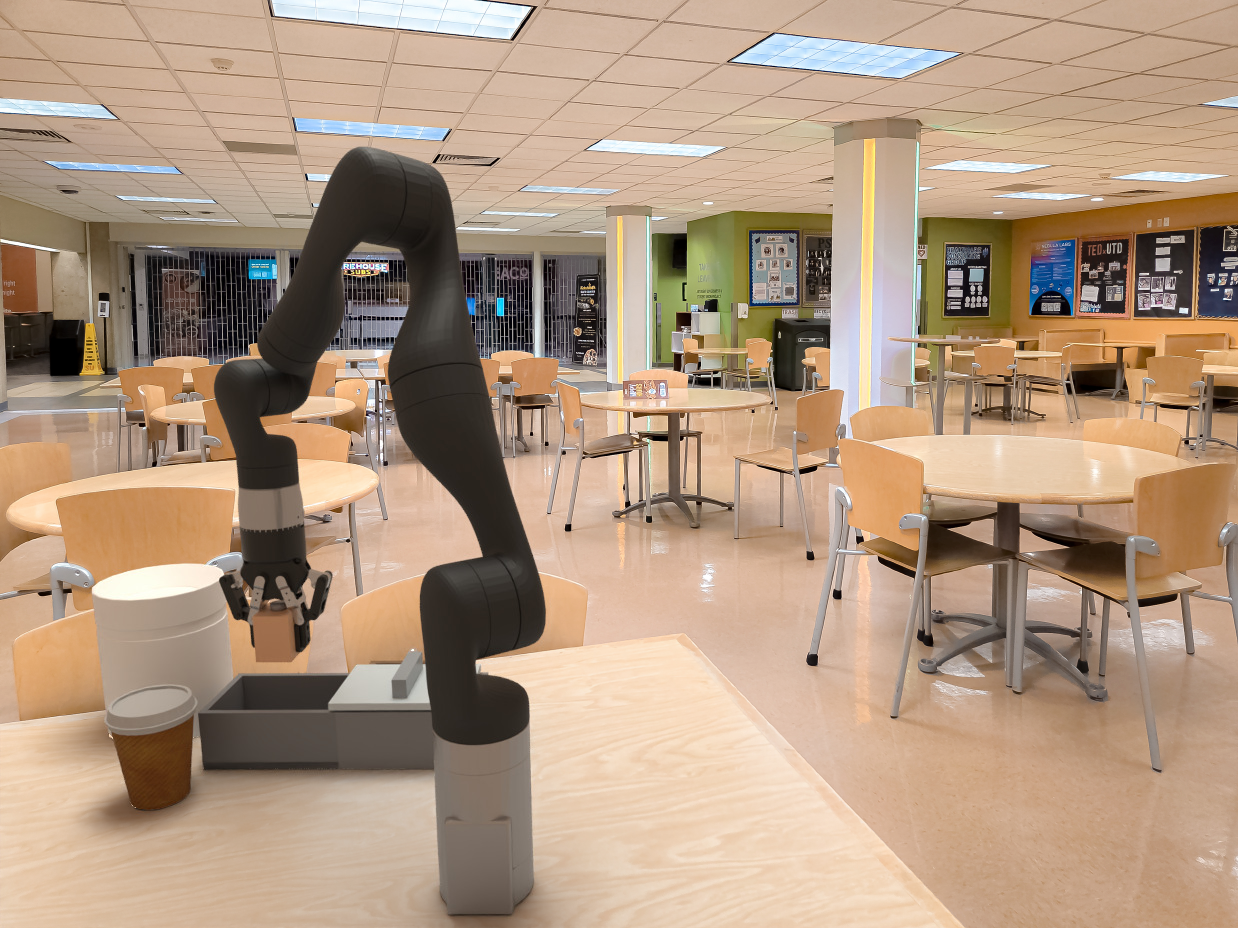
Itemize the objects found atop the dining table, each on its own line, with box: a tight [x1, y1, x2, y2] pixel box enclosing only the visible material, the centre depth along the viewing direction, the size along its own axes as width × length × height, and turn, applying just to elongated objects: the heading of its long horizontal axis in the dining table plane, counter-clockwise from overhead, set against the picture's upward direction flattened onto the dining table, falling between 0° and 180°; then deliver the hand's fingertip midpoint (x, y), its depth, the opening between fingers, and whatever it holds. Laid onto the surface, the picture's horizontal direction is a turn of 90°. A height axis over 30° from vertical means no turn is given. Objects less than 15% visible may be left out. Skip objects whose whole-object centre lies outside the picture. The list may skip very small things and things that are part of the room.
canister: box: [91, 563, 234, 738], centre depth 121 cm, size 16×16×20 cm
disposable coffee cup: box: [103, 684, 198, 811], centre depth 102 cm, size 10×10×12 cm
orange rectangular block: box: [252, 599, 301, 663], centre depth 112 cm, size 6×4×7 cm
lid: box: [328, 651, 482, 710], centre depth 113 cm, size 12×17×3 cm
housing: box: [198, 671, 490, 771], centre depth 114 cm, size 12×35×8 cm, turn 90°
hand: (281, 649), depth 113 cm, fingers closed on orange rectangular block, 4 cm apart
